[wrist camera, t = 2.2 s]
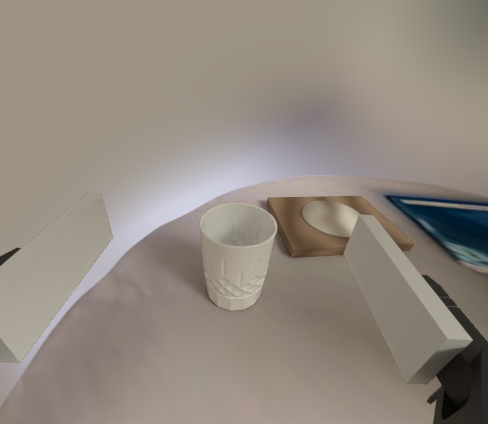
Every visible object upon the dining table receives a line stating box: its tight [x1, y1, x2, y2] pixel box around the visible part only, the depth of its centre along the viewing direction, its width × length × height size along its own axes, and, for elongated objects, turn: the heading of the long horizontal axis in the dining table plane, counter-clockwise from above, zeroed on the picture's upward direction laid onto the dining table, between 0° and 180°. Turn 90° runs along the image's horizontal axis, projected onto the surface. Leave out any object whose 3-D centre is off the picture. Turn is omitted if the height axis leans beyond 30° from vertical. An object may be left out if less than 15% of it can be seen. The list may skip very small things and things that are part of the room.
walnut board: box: [267, 196, 414, 258], centre depth 43 cm, size 20×15×2 cm
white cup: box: [200, 203, 277, 311], centre depth 28 cm, size 8×8×10 cm
